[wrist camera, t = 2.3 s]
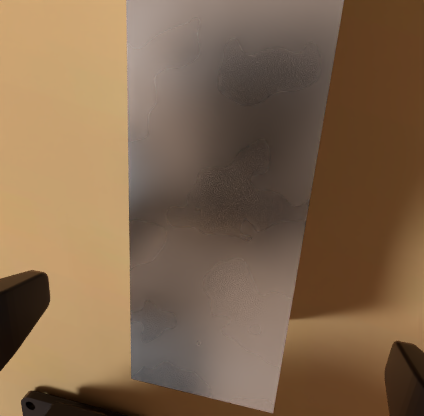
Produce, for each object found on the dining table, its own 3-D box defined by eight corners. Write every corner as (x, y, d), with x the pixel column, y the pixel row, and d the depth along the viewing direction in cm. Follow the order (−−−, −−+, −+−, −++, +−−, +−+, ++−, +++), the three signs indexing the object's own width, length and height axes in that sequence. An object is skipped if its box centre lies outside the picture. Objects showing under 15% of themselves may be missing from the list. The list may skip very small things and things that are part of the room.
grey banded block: (280, 320, 13) (274, 415, 9) (174, 299, 14) (129, 379, 10) (406, -454, 7) (539, -1105, 3) (201, -415, 8) (109, -898, 4)
